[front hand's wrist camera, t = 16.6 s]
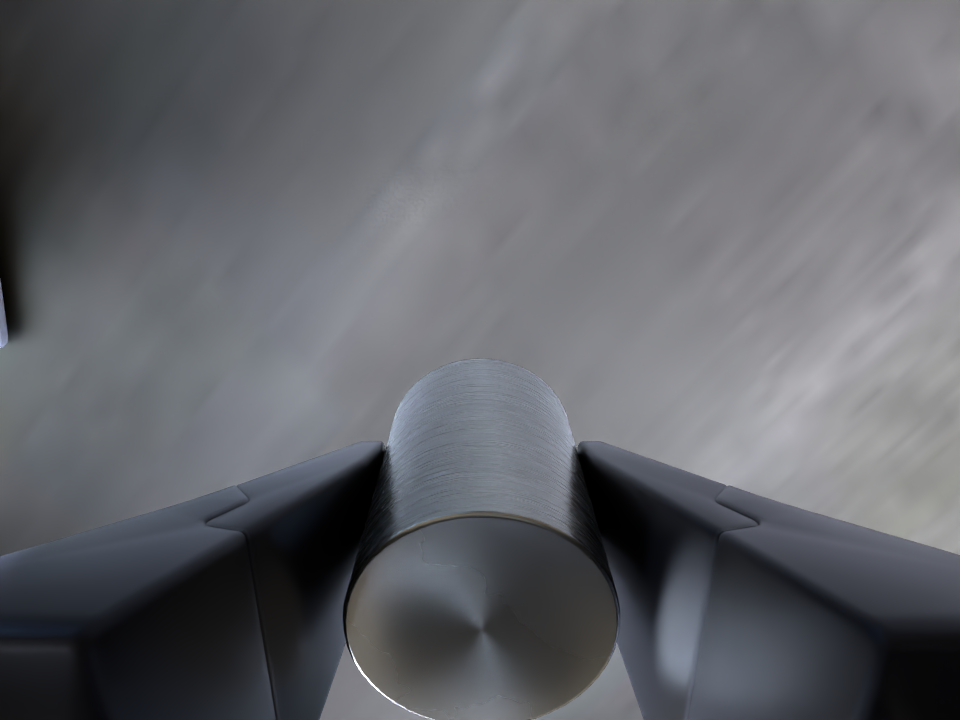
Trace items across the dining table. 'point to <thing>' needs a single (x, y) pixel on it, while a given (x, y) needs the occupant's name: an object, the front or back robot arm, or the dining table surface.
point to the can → (481, 554)
